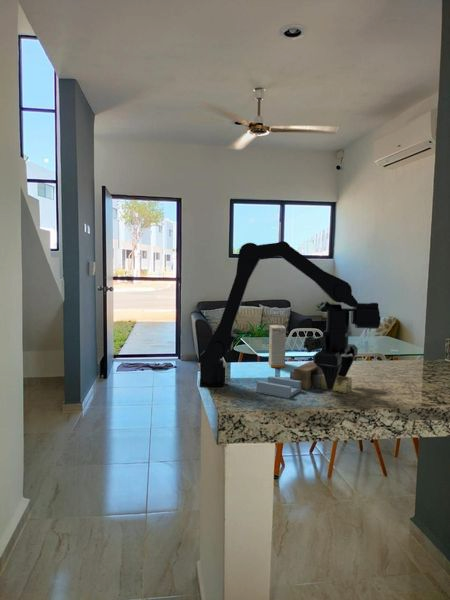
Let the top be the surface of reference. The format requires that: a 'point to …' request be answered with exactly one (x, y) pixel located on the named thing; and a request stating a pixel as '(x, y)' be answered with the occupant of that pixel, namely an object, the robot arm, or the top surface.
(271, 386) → the cradle
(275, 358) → the supplement box
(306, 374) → the beam
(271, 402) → the top surface
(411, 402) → the top surface
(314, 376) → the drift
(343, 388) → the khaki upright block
